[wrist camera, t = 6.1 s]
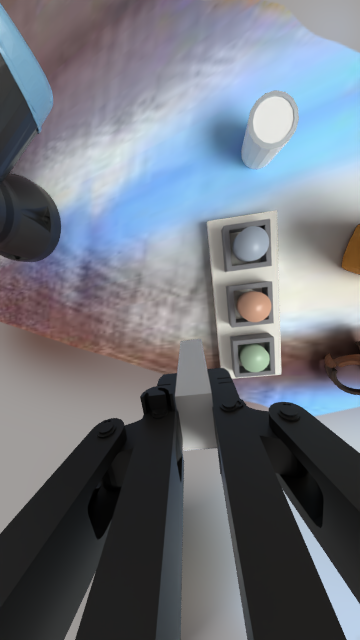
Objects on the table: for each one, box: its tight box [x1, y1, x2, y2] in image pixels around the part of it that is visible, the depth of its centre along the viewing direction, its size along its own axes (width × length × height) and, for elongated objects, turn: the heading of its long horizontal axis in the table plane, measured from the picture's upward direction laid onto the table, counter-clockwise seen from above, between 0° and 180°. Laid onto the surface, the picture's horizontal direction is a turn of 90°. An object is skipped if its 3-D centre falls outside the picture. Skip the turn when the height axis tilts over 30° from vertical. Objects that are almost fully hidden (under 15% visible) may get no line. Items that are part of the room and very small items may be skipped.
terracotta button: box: [236, 291, 271, 322], centre depth 34 cm, size 5×5×3 cm
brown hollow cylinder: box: [325, 341, 360, 395], centre depth 39 cm, size 12×10×8 cm
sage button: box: [238, 343, 270, 372], centre depth 38 cm, size 5×5×3 cm
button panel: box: [207, 210, 281, 379], centre depth 37 cm, size 31×12×5 cm, turn 7°
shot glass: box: [241, 90, 299, 170], centre depth 31 cm, size 7×7×7 cm
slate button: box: [232, 226, 269, 262], centre depth 32 cm, size 5×5×3 cm
